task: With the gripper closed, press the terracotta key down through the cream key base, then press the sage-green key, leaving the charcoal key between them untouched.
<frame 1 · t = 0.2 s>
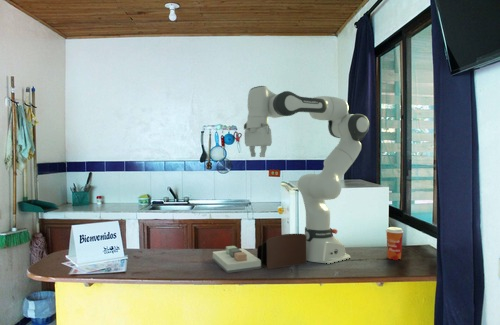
hand: (257, 157, 151), 47 cm above the countertop, tool pointing down, fingers open, 8 cm apart
cream key base: (235, 263, 156), on the countertop
terracotta key: (240, 257, 151), point 5 cm above the countertop, slide at 0.0 cm
charcoal key: (235, 253, 156), point 4 cm above the countertop, slide at 0.0 cm
paper cup: (394, 258, 165), on the countertop
sage key: (231, 250, 161), point 5 cm above the countertop, slide at 0.0 cm
letter holder: (281, 264, 157), on the countertop
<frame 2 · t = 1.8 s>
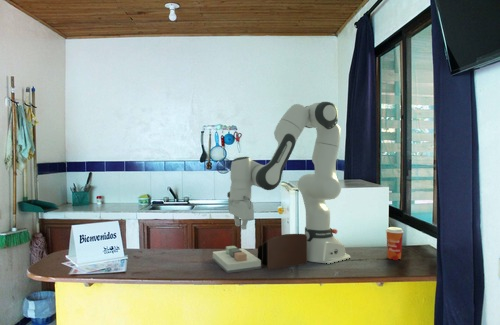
hand: (240, 227, 151), 17 cm above the countertop, tool pointing down, fingers open, 5 cm apart
nothing on the countertop moved.
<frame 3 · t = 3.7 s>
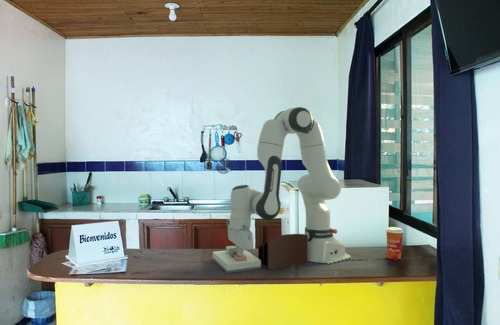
hand: (239, 255, 151), 5 cm above the countertop, tool pointing down, fingers closed, pressing on terracotta key
terracotta key: (240, 259, 151), point 4 cm above the countertop, slide at 0.9 cm, touching gripper
everything else where it was.
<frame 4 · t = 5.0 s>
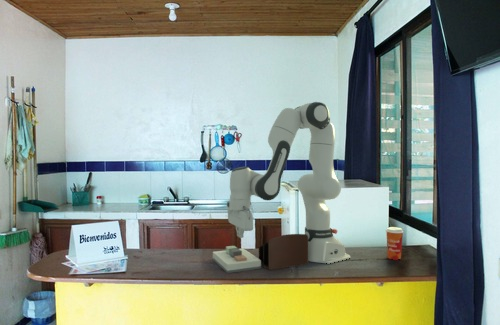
hand: (240, 237, 151), 13 cm above the countertop, tool pointing down, fingers closed
terracotta key: (240, 260, 151), point 3 cm above the countertop, slide at 1.4 cm
everything else where it was.
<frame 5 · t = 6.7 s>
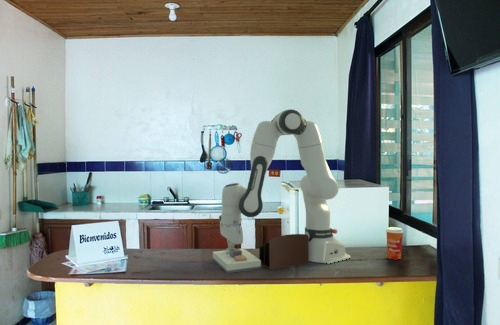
hand: (231, 249, 161), 5 cm above the countertop, tool pointing down, fingers closed, pressing on sage key
sage key: (231, 252, 161), point 3 cm above the countertop, slide at 1.1 cm, touching gripper
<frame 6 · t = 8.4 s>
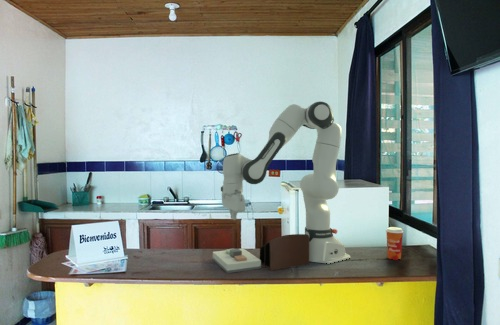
hand: (233, 219, 162), 19 cm above the countertop, tool pointing down, fingers closed
sage key: (231, 253, 161), point 3 cm above the countertop, slide at 1.4 cm
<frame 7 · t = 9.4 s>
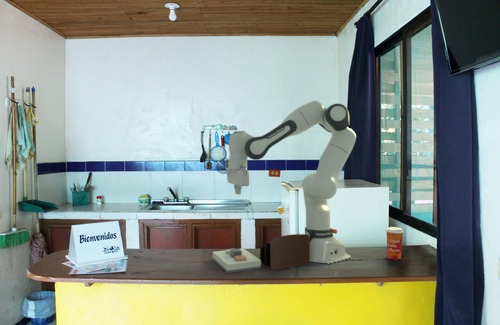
hand: (237, 194, 170), 29 cm above the countertop, tool pointing down, fingers closed
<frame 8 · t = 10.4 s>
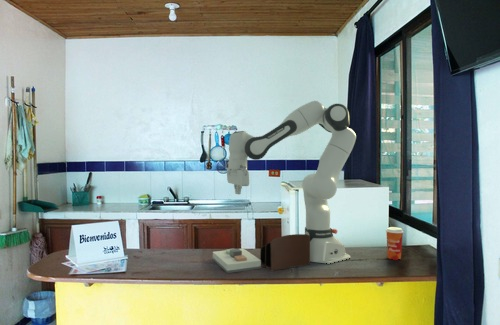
hand: (237, 194, 170), 29 cm above the countertop, tool pointing down, fingers closed
at the end: terracotta key slide at 1.4 cm; sage key slide at 1.4 cm; charcoal key slide at 0.0 cm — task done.
